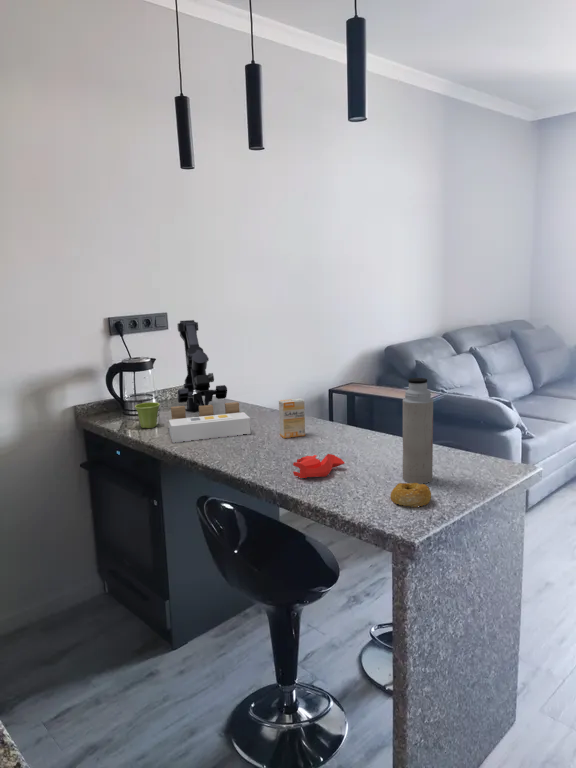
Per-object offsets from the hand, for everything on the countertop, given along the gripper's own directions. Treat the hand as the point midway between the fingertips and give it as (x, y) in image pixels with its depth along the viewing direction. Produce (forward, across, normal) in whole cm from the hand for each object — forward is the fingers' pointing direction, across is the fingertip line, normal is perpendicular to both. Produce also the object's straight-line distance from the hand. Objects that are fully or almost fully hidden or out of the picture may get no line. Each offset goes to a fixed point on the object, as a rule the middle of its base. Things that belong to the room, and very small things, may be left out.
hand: (205, 412), depth 217 cm
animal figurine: (+48, +23, -39) cm, 66 cm away
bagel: (+68, +38, -59) cm, 98 cm away
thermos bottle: (+59, +46, -50) cm, 90 cm away
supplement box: (+20, +27, -11) cm, 36 cm away
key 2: (+4, +10, +3) cm, 11 cm away
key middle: (+5, 0, +3) cm, 5 cm away
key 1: (+3, -10, +5) cm, 11 cm away
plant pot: (-5, -21, +14) cm, 26 cm away
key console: (+8, 0, +1) cm, 8 cm away
